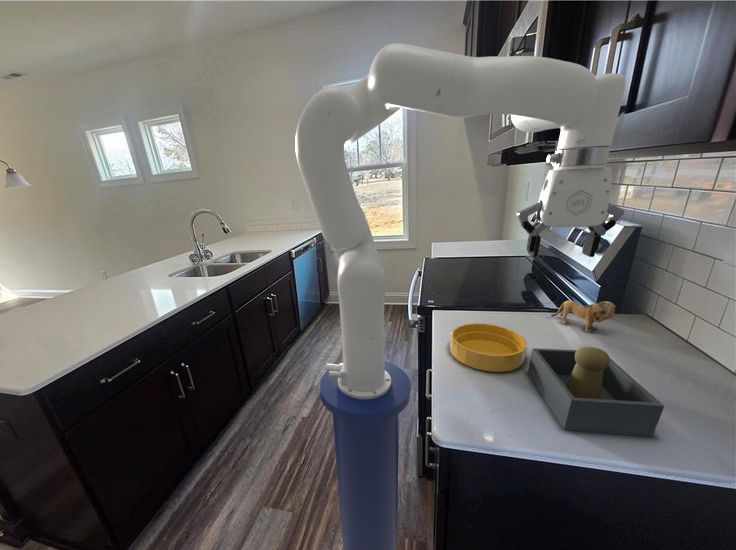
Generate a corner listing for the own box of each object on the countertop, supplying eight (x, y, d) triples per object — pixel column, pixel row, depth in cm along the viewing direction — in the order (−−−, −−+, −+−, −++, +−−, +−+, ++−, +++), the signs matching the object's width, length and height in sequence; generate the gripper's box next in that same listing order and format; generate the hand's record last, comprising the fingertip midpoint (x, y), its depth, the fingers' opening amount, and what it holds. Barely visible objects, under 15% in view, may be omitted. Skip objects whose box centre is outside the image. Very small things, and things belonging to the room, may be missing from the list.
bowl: (455, 370, 76) (457, 354, 74) (446, 336, 91) (447, 322, 90) (534, 374, 72) (538, 357, 71) (510, 338, 88) (513, 323, 86)
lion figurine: (611, 331, 88) (620, 301, 85) (604, 337, 86) (613, 306, 82) (553, 315, 100) (559, 288, 96) (545, 320, 97) (551, 292, 94)
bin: (563, 429, 57) (571, 400, 54) (527, 373, 73) (532, 348, 70) (652, 437, 54) (664, 406, 52) (594, 376, 70) (601, 350, 68)
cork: (572, 407, 61) (585, 358, 57) (556, 387, 67) (567, 342, 63) (607, 408, 60) (623, 359, 56) (588, 388, 66) (601, 342, 62)
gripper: (533, 162, 54) (517, 259, 60) (653, 156, 51) (622, 260, 57) (519, 163, 61) (506, 250, 67) (624, 158, 57) (599, 251, 64)
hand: (559, 255), depth 62 cm, fingers open, 9 cm apart
